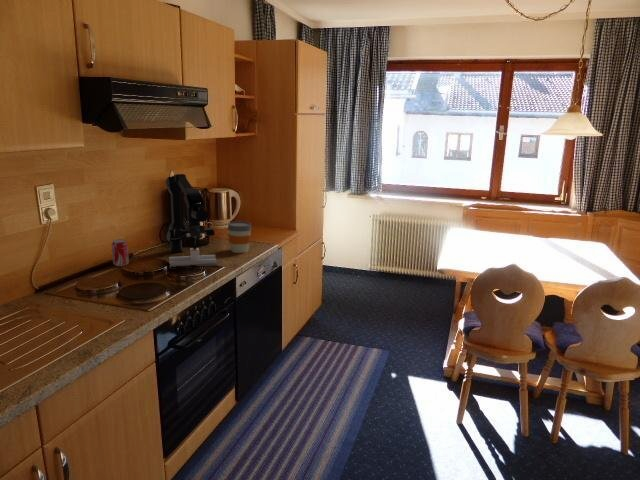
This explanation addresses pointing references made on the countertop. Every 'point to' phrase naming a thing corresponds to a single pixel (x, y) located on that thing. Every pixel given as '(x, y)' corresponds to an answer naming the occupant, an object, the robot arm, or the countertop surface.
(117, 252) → the soda can
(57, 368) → the countertop surface
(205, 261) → the rail
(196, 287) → the countertop surface
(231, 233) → the reusable coffee cup
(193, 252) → the block
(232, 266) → the countertop surface
